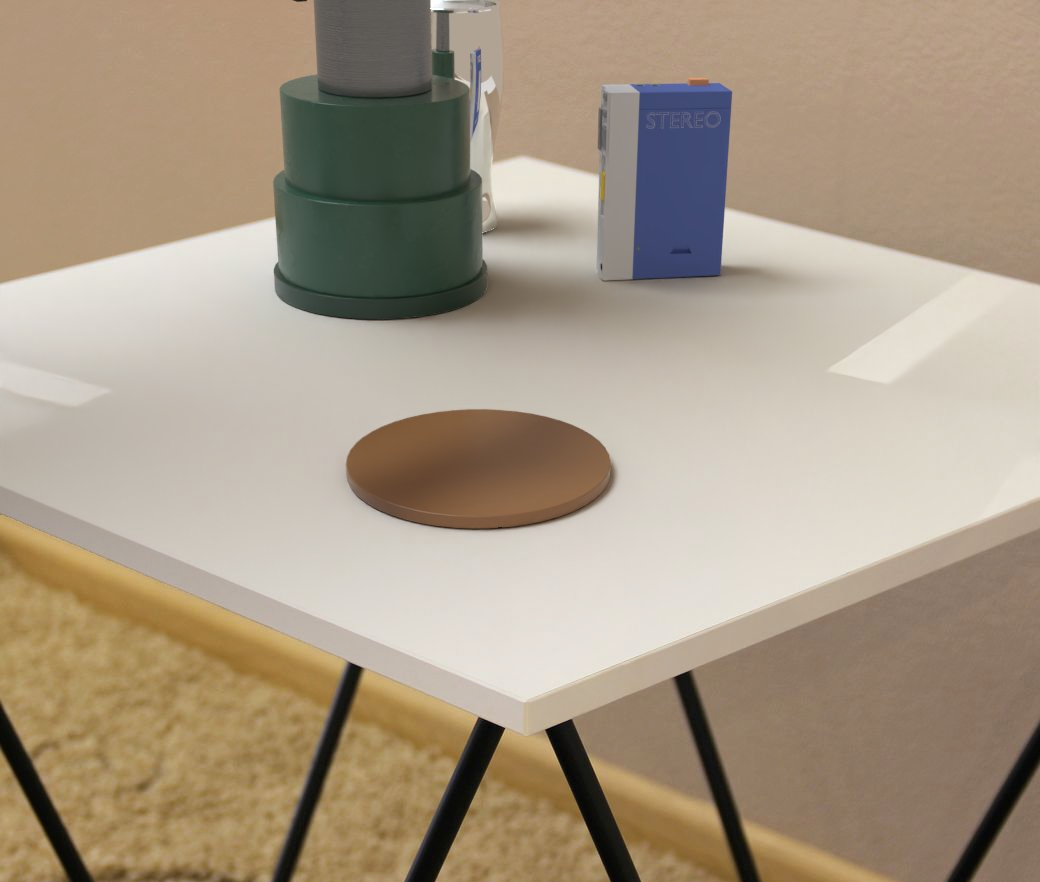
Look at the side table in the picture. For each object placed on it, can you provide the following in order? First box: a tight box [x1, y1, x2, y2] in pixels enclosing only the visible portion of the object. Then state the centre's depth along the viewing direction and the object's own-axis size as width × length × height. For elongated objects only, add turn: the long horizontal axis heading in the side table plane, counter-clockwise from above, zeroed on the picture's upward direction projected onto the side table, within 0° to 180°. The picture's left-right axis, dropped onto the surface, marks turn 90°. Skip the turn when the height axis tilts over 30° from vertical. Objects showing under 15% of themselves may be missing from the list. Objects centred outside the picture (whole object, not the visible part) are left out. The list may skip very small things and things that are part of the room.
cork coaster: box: [345, 408, 612, 529], centre depth 69 cm, size 12×12×1 cm
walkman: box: [596, 77, 733, 281], centre depth 95 cm, size 8×3×12 cm, turn 102°
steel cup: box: [313, 0, 432, 98], centre depth 87 cm, size 7×7×9 cm
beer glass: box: [431, 0, 505, 232], centre depth 104 cm, size 7×7×15 cm
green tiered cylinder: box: [272, 74, 489, 320], centre depth 91 cm, size 13×13×12 cm
